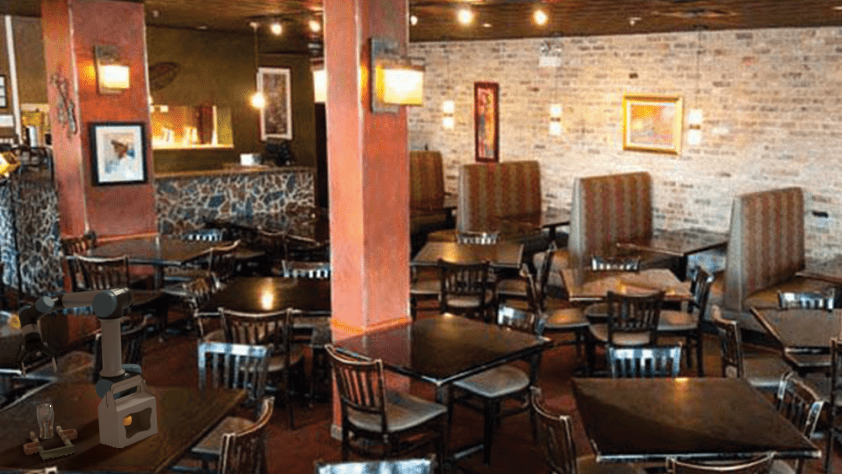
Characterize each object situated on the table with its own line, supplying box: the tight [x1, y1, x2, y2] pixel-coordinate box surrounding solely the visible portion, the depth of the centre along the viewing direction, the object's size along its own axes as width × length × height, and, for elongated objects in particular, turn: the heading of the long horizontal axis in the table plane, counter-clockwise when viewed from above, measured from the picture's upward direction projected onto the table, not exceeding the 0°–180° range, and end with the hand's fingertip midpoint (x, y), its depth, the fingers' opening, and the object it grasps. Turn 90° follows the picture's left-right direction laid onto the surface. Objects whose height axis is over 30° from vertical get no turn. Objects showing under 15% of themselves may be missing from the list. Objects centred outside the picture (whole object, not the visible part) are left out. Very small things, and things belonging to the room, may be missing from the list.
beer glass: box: [36, 402, 55, 440], centre depth 385 cm, size 7×7×15 cm
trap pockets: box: [22, 427, 79, 456], centre depth 378 cm, size 14×23×2 cm, turn 124°
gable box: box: [97, 375, 158, 449], centre depth 382 cm, size 22×13×28 cm, turn 149°
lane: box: [29, 425, 76, 461], centre depth 376 cm, size 31×13×4 cm, turn 34°
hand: (40, 373), depth 396 cm, fingers open, 13 cm apart
